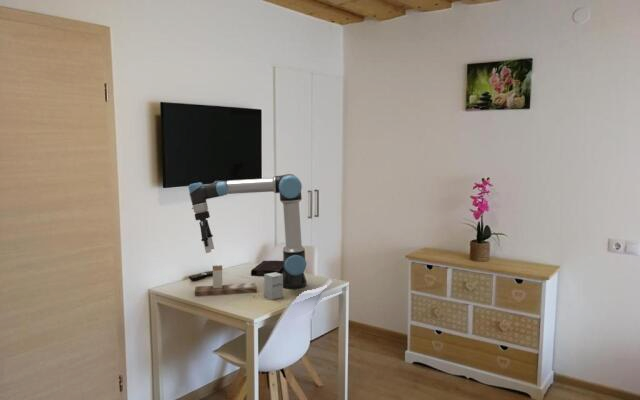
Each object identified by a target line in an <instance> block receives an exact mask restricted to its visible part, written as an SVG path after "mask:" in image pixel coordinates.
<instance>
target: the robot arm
mask: <svg viewBox="0 0 640 400" xmlns="http://www.w3.org/2000/svg"><path fill="white" fill-rule="evenodd" d="M302 187H303V185H302V182H301V180H300V179H299V177H297V175H294V174H290V173H287V174H283V175H274V176H273V177H268V178H267V177H266V178H264V177H263V178H250V179H232V180H231V179H230V180H215V181H214V182H213V183H208V184H203V182H195V183H190V184H189V185H188V190H189V191H188V192H189V197H190V202H191V204H192V207H191V210H193V213H194V218H195V221H199V227H200V235H201V239H200V240H201V242H202V243H203V246H204V250H205V254H208V253H212V250H214V249H215V247H214V246H215V245H214V241H213V237H214V235H213V234H212V232H211V228H210V225H209V222H208V221H209V220H208V219H209V218H210V217H211V215H210V212H209V206H208V203H207V200H209V199H215V198H219V197H223V196H227V195H232V194H251V193H253V194H254V193H268V192H273V193H274V194H279V201H280V202H281V203H282V206H283V207H282V209H283V221H284V223H283V224H284V237H285V239H284V240H285V246H284V247H283V249H282V254H283V255H282V257H283V258H282V259H283V260H282V261H283V274H282V275H283V289H289V290H297V289H302V288H303V289H304V288H305V287H307V285H308V284H307V279H306V275H305V273H304V272H305V270H306V268H307V260H306V251H305V250H306V249H305V248H304V247H303V246H302V243H303V242H302V232H301V231H302V229H301V213H300V212H301V211H300V202H301V201H302V199H303V198H302V189H303V188H302Z"/></svg>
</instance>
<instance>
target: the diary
mask: <svg viewBox="0 0 640 400" xmlns="http://www.w3.org/2000/svg"><path fill="white" fill-rule="evenodd" d="M274 272H276V273H280V274H282V275H283V260H262V261H261V262H259V264H257V265H256V266H255V267H254V268H252V269H251V271H250V276H251V277H252V276H255V277H256V276H257V277H264V274H268V273H274Z"/></svg>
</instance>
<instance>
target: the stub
mask: <svg viewBox="0 0 640 400" xmlns="http://www.w3.org/2000/svg"><path fill="white" fill-rule="evenodd" d="M222 285H223V265H212V286H213V288H223V287H222Z"/></svg>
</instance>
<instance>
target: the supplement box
mask: <svg viewBox="0 0 640 400" xmlns="http://www.w3.org/2000/svg"><path fill="white" fill-rule="evenodd" d="M263 277H264V281H263V282H264V283H263V284H264V285H263V286H264V290H263V291H264V292H263V293H264V298H266V299H268V300H271V301H273V300H276V299H280V298H281V299H283V298H284V288H283V274H280V273H276V272H274V273H268V274H264V276H263Z"/></svg>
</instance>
